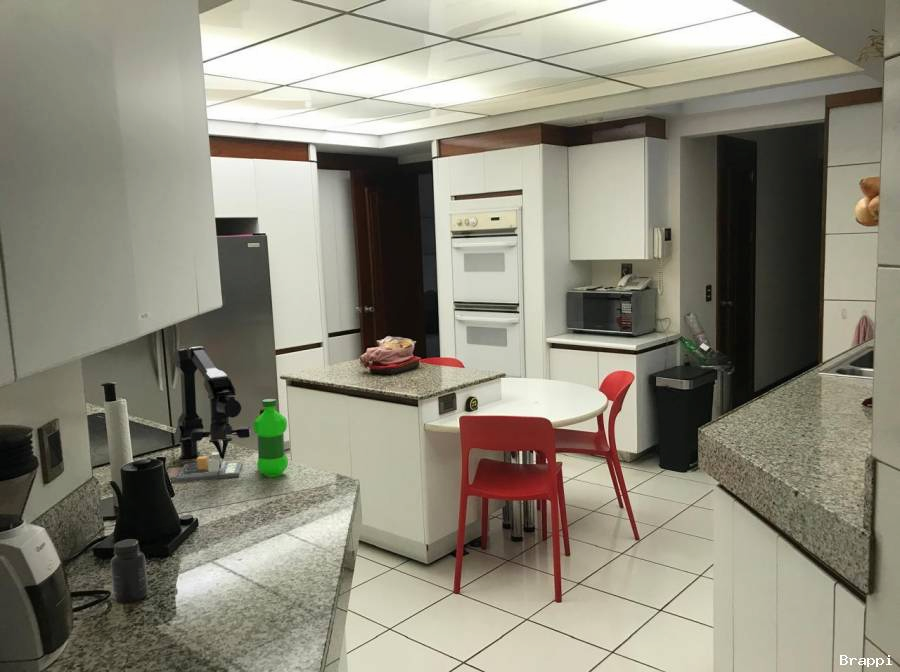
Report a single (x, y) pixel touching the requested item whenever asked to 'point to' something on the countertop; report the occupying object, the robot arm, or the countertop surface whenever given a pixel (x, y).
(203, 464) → the block
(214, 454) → the block
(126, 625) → the countertop surface
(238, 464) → the panel
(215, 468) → the block
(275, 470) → the plastic bottle
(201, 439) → the robot arm
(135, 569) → the supplement bottle
